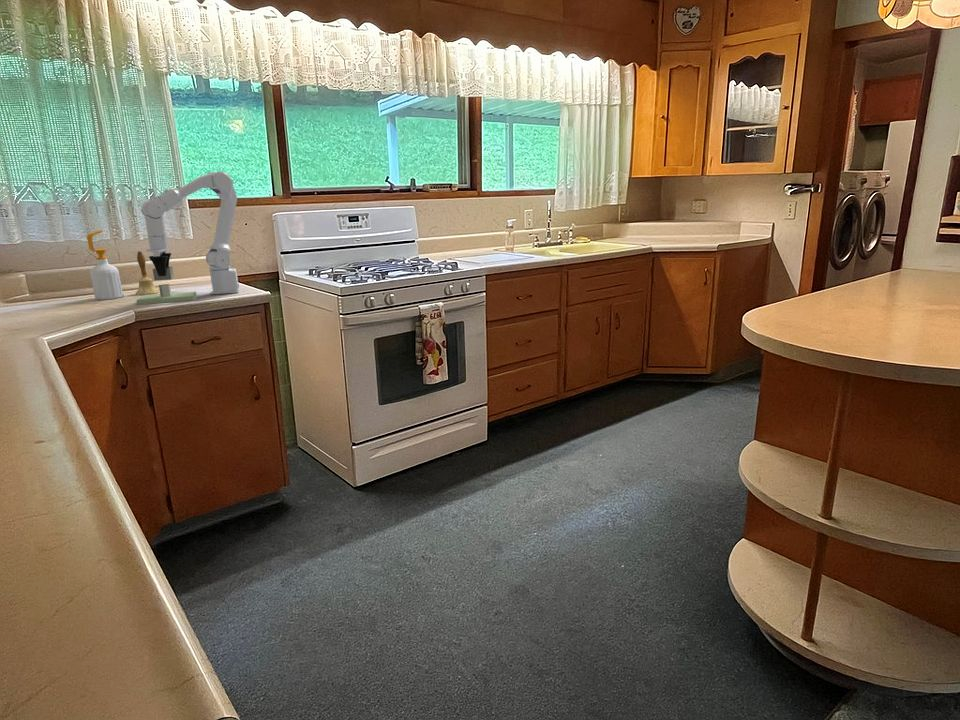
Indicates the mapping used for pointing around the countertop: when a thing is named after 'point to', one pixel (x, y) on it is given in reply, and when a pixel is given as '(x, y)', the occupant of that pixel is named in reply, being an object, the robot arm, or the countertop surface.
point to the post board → (166, 296)
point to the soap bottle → (104, 275)
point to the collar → (168, 276)
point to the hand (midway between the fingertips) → (163, 274)
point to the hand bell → (145, 279)
